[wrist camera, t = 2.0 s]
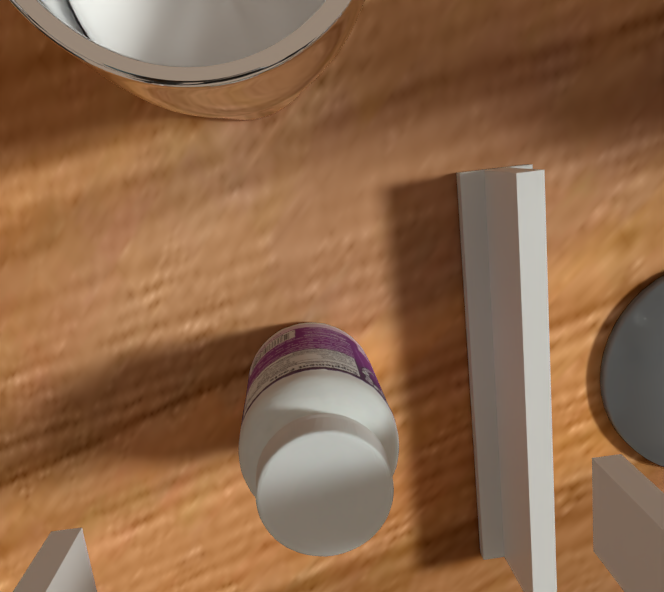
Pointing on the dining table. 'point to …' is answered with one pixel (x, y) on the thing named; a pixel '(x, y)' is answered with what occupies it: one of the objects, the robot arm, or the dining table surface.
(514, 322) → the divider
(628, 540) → the robot arm
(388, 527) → the dining table surface
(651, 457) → the coaster
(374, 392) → the pill bottle
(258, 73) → the beer glass
